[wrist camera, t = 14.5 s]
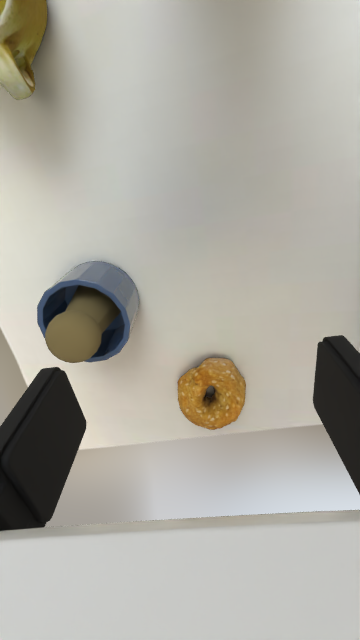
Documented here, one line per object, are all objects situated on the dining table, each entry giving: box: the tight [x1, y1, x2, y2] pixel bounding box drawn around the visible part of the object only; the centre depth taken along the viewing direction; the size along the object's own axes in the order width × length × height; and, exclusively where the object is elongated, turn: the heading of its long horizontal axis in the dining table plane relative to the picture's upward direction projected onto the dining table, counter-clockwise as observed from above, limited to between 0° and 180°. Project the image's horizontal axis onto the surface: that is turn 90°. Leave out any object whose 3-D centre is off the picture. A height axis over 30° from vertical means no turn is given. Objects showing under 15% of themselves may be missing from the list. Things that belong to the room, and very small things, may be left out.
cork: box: [45, 285, 121, 363], centre depth 32 cm, size 6×6×11 cm
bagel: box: [178, 358, 246, 430], centre depth 41 cm, size 10×11×5 cm
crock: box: [37, 261, 139, 362], centre depth 34 cm, size 10×10×7 cm
